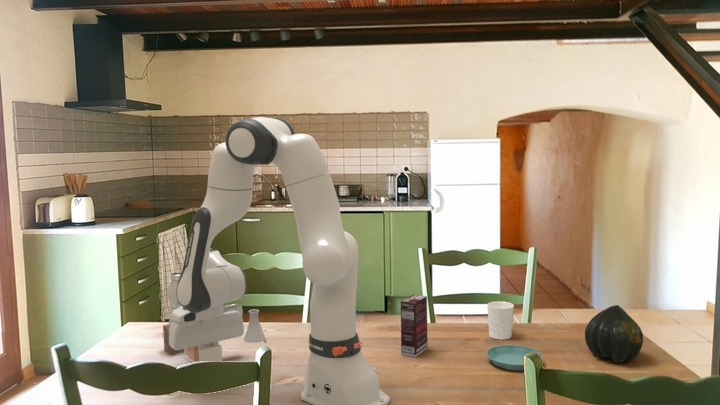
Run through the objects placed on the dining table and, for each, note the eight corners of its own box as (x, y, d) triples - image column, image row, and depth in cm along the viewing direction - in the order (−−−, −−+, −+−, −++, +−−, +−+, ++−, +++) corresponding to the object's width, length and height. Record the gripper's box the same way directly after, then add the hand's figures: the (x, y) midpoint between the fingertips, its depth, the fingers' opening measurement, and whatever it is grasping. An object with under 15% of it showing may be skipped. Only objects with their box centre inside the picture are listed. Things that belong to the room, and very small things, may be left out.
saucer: (476, 358, 170) (476, 349, 169) (520, 351, 175) (520, 342, 175) (506, 377, 156) (506, 367, 156) (553, 369, 161) (553, 359, 161)
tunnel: (213, 350, 178) (211, 322, 177) (171, 359, 171) (169, 330, 170) (205, 344, 183) (204, 317, 182) (164, 353, 176) (163, 325, 175)
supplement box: (413, 346, 180) (413, 293, 178) (428, 348, 177) (428, 295, 175) (400, 355, 172) (399, 300, 170) (415, 358, 170) (415, 303, 168)
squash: (600, 350, 158) (632, 305, 160) (566, 335, 173) (596, 293, 175) (634, 381, 162) (665, 336, 164) (598, 363, 176) (627, 322, 178)
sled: (226, 368, 163) (225, 347, 162) (203, 374, 159) (202, 352, 159) (205, 352, 175) (204, 333, 174) (183, 357, 171) (182, 337, 171)
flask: (269, 338, 188) (268, 307, 187) (263, 346, 180) (262, 314, 179) (246, 338, 188) (245, 307, 187) (239, 346, 181) (238, 313, 180)
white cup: (482, 334, 189) (482, 303, 188) (502, 330, 192) (502, 300, 191) (497, 342, 182) (498, 309, 181) (518, 338, 185) (519, 306, 184)
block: (211, 357, 169) (210, 338, 169) (194, 361, 166) (193, 341, 166) (204, 352, 173) (203, 333, 173) (187, 355, 171) (186, 337, 170)
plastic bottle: (164, 337, 190) (161, 275, 188) (176, 331, 196) (173, 270, 194) (182, 339, 188) (179, 276, 186) (194, 332, 194) (191, 271, 192)
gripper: (237, 299, 172) (239, 346, 173) (165, 312, 160) (168, 363, 161) (247, 304, 167) (248, 353, 168) (173, 318, 155) (176, 370, 156)
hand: (208, 358), depth 165 cm, fingers closed, pressing on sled
